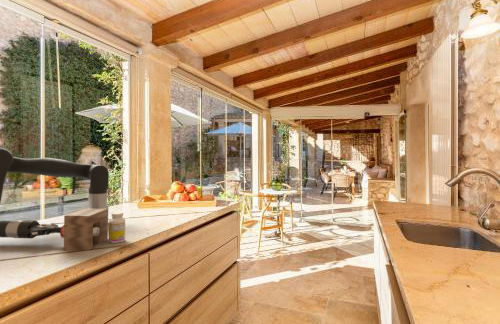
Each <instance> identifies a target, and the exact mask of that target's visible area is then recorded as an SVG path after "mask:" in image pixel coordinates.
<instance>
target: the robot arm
mask: <svg viewBox="0 0 500 324" xmlns="http://www.w3.org/2000/svg"><path fill="white" fill-rule="evenodd" d="M8 173H22V174H30V175H38V176H39V175H40V176H47V177H57V178H74V177H75V178H83V179H88V180H90V182H89V183H90V184H89V187H88V202H87V203H88V207H87V208H89V209H108V210H109V205H108V188H109V180H110V178H109V177H110V173H109V169H108V167H106V166H105V165H102V164H84V163H78V162H73V161H69V160H65V159H60V158H53V157H36V158H35V157H34V158H21V157H16V156H14V155H13V153H12V152H11V151H9V150H8V149H6V148H0V203H1V202H2V196H3V193H4V192H3V191H4V187H5V185H4V184H5V180H6V176H7V174H8ZM61 228H62V226H59V225H58V224H56V223H54V222H53V223H50V224H46V223H41V224H40V222H39V221H37V220H29V219H28V220H24V219H23V220H22V219H20V220H0V238H11V239H34V238H36V237H41V236H45V235H46V236H48V235H50V234H51V235H52V234H60V230H61Z"/></svg>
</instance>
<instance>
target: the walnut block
mask: <svg viewBox="0 0 500 324" xmlns="http://www.w3.org/2000/svg"><path fill="white" fill-rule="evenodd" d="M63 220H64V221H63V222H64V223H63V225H64V238H63V250H64V251H90V250H91V249H93V247H94V245H93V244H101V243H103V242H105V241H106V240H109V208H108V209H89V208H88V207H86V208H84V209H81V210H78V211H75V212H72V213H68V214H65V215H64V218H63ZM93 227H99V229H100V232H99V235H98V236H93Z"/></svg>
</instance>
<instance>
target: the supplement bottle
mask: <svg viewBox="0 0 500 324" xmlns="http://www.w3.org/2000/svg"><path fill="white" fill-rule="evenodd" d="M123 216H124V212H122V211H117V212H116V211H115V212H112V213H111V217H112V218H110V219H109V220H108V242H109V243H113V244H117V243H119V244H120V243H124V241H125V240H126V219H125V217H123Z"/></svg>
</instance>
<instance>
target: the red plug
mask: <svg viewBox="0 0 500 324" xmlns="http://www.w3.org/2000/svg"><path fill="white" fill-rule="evenodd" d="M61 227H62V228H61V230H60V233H59V235H60V238H62V239H64V224H62V226H61ZM99 232H100V229H99V227H93V236H98V235H99Z"/></svg>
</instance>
